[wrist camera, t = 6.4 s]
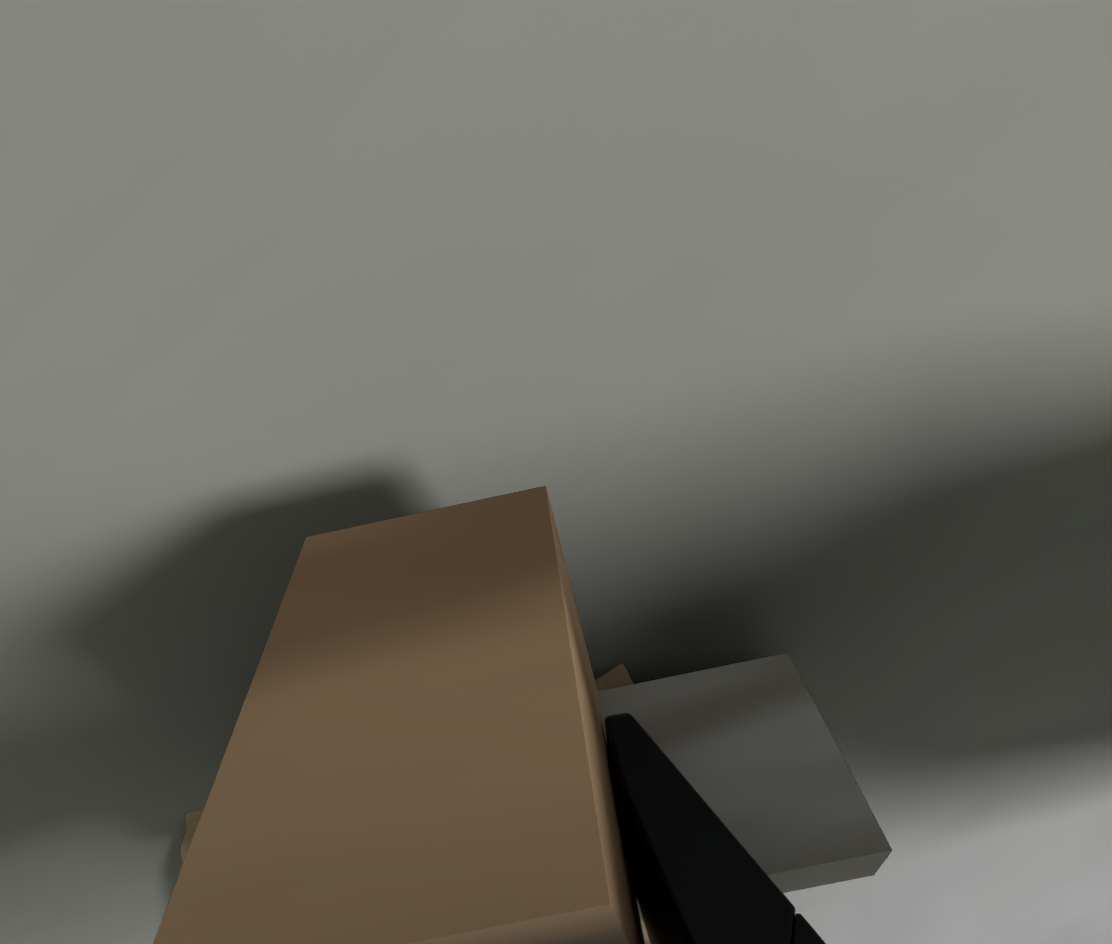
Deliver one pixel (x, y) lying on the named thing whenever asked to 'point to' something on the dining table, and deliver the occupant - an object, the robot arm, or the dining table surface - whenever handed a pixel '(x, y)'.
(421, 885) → the tan block on bar
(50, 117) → the dining table surface
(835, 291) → the dining table surface
